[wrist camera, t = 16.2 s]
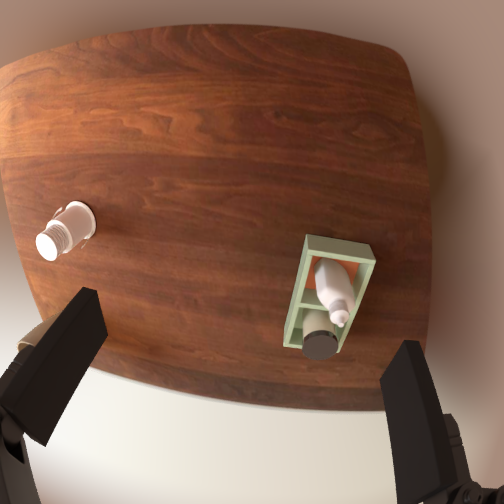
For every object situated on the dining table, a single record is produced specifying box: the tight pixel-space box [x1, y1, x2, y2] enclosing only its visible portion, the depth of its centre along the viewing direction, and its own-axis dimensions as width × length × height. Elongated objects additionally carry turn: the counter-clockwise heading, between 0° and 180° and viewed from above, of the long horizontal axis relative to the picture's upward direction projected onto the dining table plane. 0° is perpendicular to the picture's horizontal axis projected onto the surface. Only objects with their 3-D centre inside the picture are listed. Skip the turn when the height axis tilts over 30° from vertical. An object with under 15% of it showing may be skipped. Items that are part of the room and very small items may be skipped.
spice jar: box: [302, 308, 339, 360], centre depth 45 cm, size 5×5×8 cm
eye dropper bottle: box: [314, 257, 355, 327], centre depth 39 cm, size 4×6×12 cm
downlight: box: [36, 201, 96, 261], centre depth 42 cm, size 8×7×10 cm
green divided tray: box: [283, 234, 376, 353], centre depth 45 cm, size 18×10×5 cm, turn 173°
